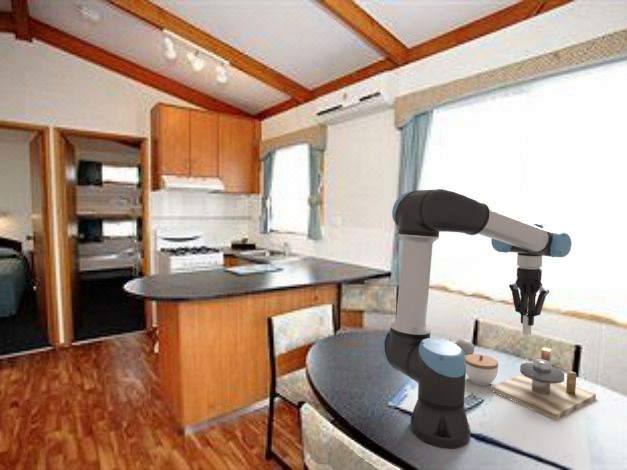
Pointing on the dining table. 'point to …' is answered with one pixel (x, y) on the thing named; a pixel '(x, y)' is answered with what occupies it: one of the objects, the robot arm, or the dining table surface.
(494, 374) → the lidded jar
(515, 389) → the flange base
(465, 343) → the round bodied animal figurine
